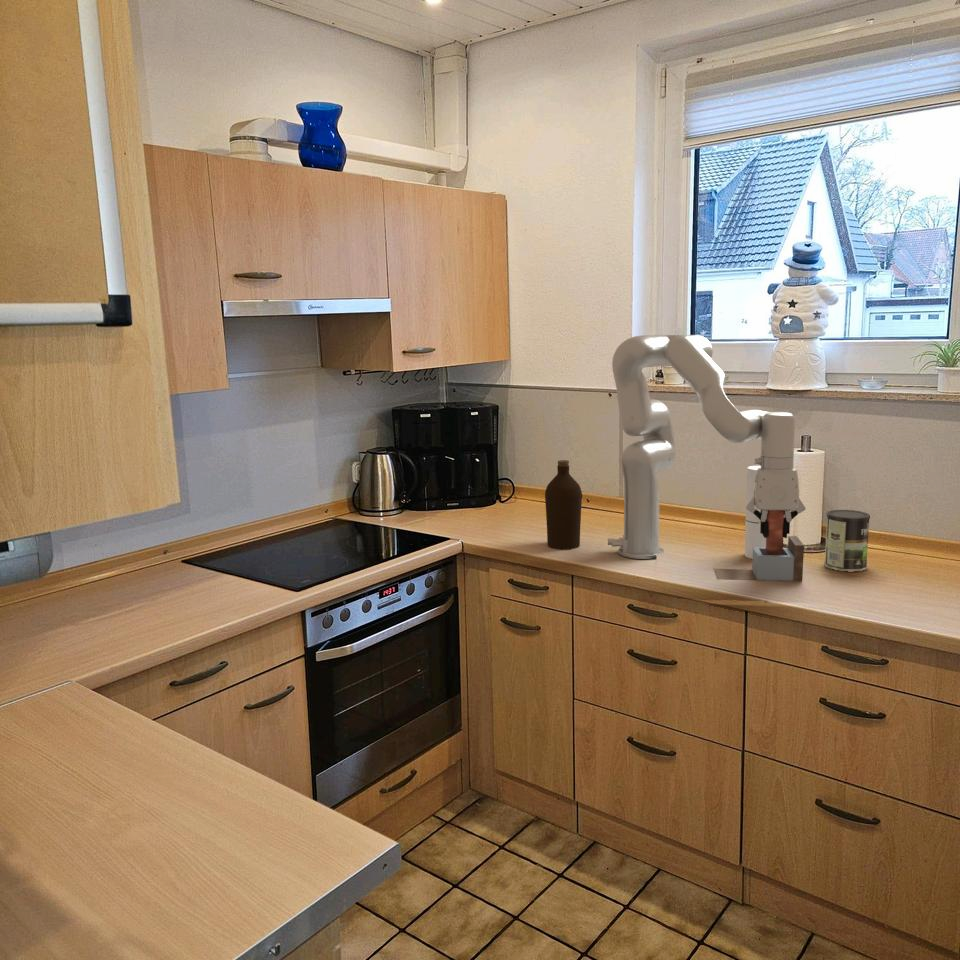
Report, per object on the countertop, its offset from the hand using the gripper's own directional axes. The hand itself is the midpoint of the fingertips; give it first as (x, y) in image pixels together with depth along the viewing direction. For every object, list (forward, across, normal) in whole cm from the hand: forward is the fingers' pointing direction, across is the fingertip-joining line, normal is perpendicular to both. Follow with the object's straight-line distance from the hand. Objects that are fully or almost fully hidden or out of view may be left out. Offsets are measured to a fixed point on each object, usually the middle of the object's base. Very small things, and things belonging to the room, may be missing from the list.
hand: (774, 535), depth 209 cm
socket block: (+10, 0, 0) cm, 10 cm away
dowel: (+4, 0, 0) cm, 4 cm away
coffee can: (+11, +20, +13) cm, 27 cm away
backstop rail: (+11, -4, 0) cm, 12 cm away
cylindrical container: (+11, -1, +18) cm, 21 cm away
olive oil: (+11, -54, +28) cm, 62 cm away
